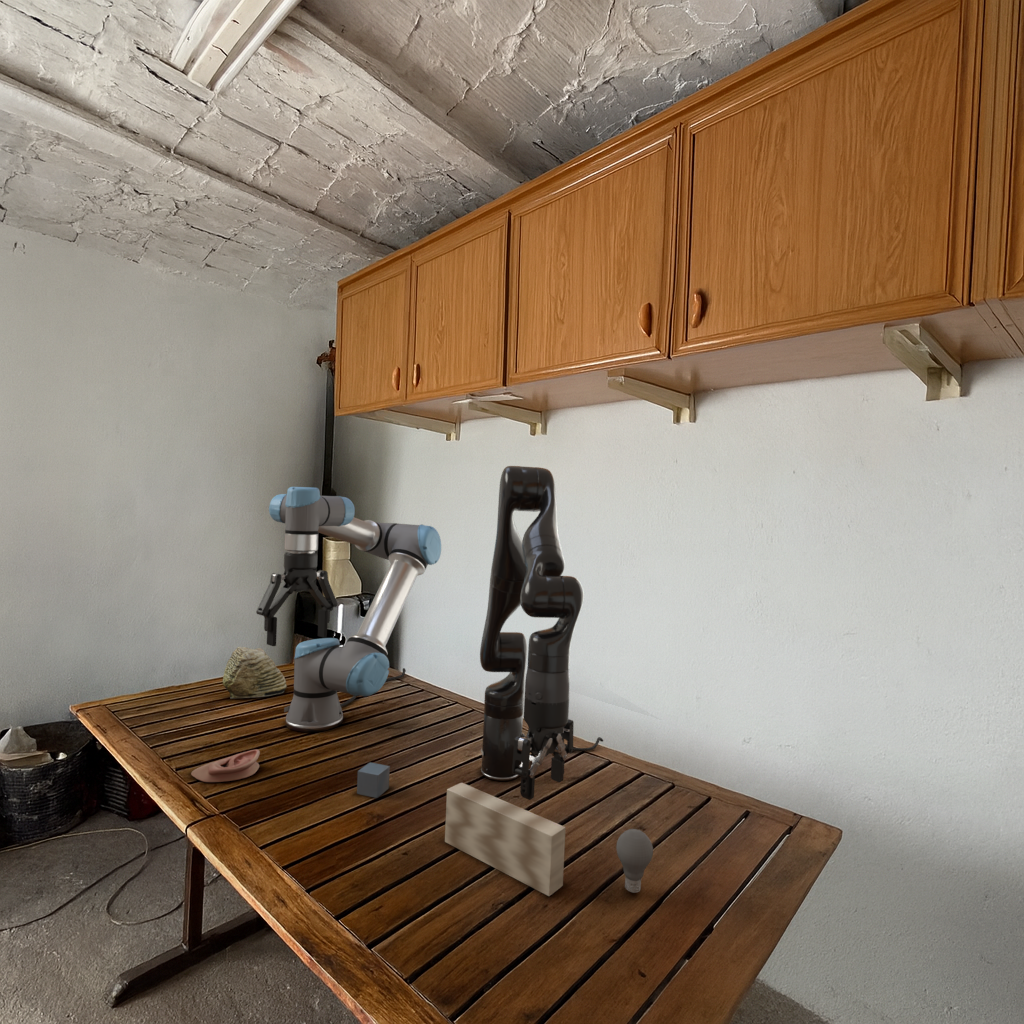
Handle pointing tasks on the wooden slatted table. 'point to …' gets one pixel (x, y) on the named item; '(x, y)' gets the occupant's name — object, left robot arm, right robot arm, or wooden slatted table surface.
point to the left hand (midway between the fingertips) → (297, 640)
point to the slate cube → (373, 780)
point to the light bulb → (634, 857)
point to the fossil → (252, 674)
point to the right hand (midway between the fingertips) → (542, 788)
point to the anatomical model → (229, 768)
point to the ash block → (506, 837)
